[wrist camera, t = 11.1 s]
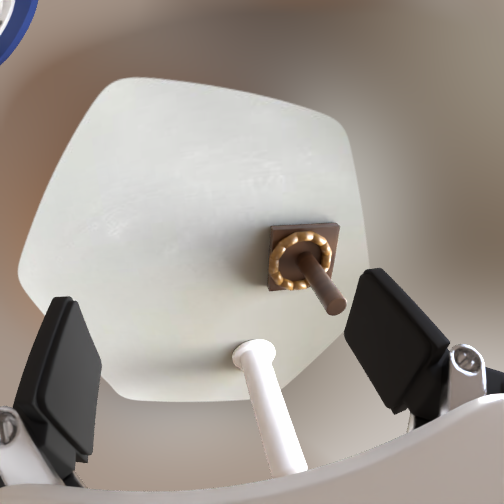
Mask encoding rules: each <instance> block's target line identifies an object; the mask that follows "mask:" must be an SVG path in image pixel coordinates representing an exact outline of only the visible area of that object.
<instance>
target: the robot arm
mask: <svg viewBox="0 0 504 504" xmlns="http://www.w3.org/2000/svg"><path fill="white" fill-rule="evenodd" d="M14 4H15V0H0V35H1V34H2V32H3V30H4V29H5V27H6V25H7V23H8V21H9V19H10V17H11V14H12V12H13V8H14ZM344 336H345V339H346V341H347V343H348V345H349V346H350V348H351V349H352V351H353V353H354V354H355V356H356V358H357V359H358V361H359V363H360V364H361V366H362V367H363V369H364V370H365V372H366V374H367V375H368V377H369V379H370V381H371V382H372V384H373V385H374V387H375V389H376V391H377V392H378V394H379V396H380V397H381V399H382V401H383V402H384V404H385V406H386V407H387V408H389V409H391V410H392V412H393V413H394V415H395V414H397V413H400V412H402V411H404V410H406V409H407V408H408V409H409V410H410V418H409V423H408V428H407V433H406V434H404V435H402V436H400V437H398V438H395V439H393V440H391V441H389V442H386V443H384V444H382V445H379V446H377V447H374V448H372V449H369V450H367V451H364V452H362V453H359V454H357V455H354V456H351V457H348V458H345V459H342V460H339V461H336V462H333V463H330V464H327V465H324V466H320V467H317V468H314V469H310V470H306V471H303V472H299V473H295V474H291V475H287V476H283V477H278V478H274V479H269V480H264V481H259V482H253V483H247V484H241V485H235V486H227V487H220V488H211V489H200V490H188V491H164V492H137V491H111V490H97V489H88V488H87V486H86V485H85V484H84V483H83V481H82V480H81V479H80V477H79V476H78V475H77V473H76V472H75V462H83V463H88V455H91V454H92V452H93V439H94V425H95V415H96V405H97V398H98V390H99V389H98V388H99V382H100V375H101V368H102V364H101V359H100V357H99V354H98V352H97V350H96V348H95V345H94V343H93V340H92V338H91V336H90V333H89V331H88V328H87V326H86V323H85V321H84V318H83V315H82V313H81V310H80V307H79V304H78V302H77V301H73V299H72V298H71V297H69V296H68V297H54V298H53V300H52V302H51V304H50V306H49V308H48V310H47V313H46V315H45V317H44V320H43V322H42V325H41V327H40V329H39V332H38V334H37V337H36V339H35V342H34V344H33V347H32V349H31V352H30V355H29V357H28V360H27V363H26V366H25V369H24V372H23V375H22V378H21V381H20V384H19V387H18V390H17V394H16V397H15V401H14V404H13V408H11V407H8V406H0V504H504V373H503V372H500V371H497V370H493V369H490V368H487V367H485V366H484V361H483V358H482V357H481V355H480V353H478V351H477V350H475V349H474V348H472V347H471V346H468V345H464V344H458V345H455V346H454V347H452V349H451V350H450V351H449V350H448V349H447V347H448V346H449V344H450V341H449V340H448V339H447V338H446V337H445V336H444V334H443V333H442V332H441V331H440V330H439V329H438V328H437V326H435V324H434V323H433V322H432V321H431V320H430V319H429V318H428V316H427V315H426V314H425V313H424V312H423V311H422V310H421V309H420V308H419V307H418V306H417V305H416V303H415V302H414V301H413V300H412V299H411V298H410V297H409V296H408V295H407V294H406V293H405V292H404V291H403V290H402V289H401V287H399V286H398V284H397V283H396V282H395V281H394V280H393V279H392V278H391V277H390V276H389V275H388V274H387V273H386V272H385V271H384V270H383V269H381V268H375V269H367V270H365V271H364V273H363V274H362V275H361V276H360V278H359V281H358V285H357V289H356V293H355V296H354V300H353V303H352V307H351V310H350V314H349V317H348V320H347V324H346V327H345V330H344Z"/></svg>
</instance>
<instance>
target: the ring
mask: <svg viewBox="0 0 504 504" xmlns="http://www.w3.org/2000/svg"><path fill="white" fill-rule="evenodd" d="M302 241H311V242H313V243H315V244H317V245H319V247H320V249H321V251H322V253H323V255H322V261H321V267H322V268H323V269H324V271H325V272H327V270H328V269H329V267H330V262H331V256H332V251H331V249H330V246H329V244H328V242H327V240H326V239H325V238H324V237H322V236H320V235H319V234H317V233H315V232H313V231H304V232H294V233H293V234H291V235H289V236H287V237H286V238H284V239H282V240H281V241H279V242H278V244H277V245H276V247H275V249H274V250H273V252H272V253H271V255H270V257H269V274H270V275H271V277H272V279H273V280H274V282H275V283H276V285H278V286H280V287H283V288H285V289H288V290H299V289H306V288H308V287H310V284H309V283H308V281H307V280H306V279H304V280H299V281H290V280H288V279H285V278H283V277H282V275H281V274H280V272H279V270H278V267H279V259H280V257H281V256H282V254H283V253H284V251H285V250H286V249H287V248H288V247H290V246H292V245H293V244H295V243H297V242H302Z"/></svg>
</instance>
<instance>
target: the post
mask: <svg viewBox="0 0 504 504" xmlns="http://www.w3.org/2000/svg"><path fill="white" fill-rule="evenodd" d="M304 231H313V232H315V233H317V234H319V235H320V236H322V237H324V238H325V239H326V240H327V242H328V244H329V246H330V249H331V251H332V256H331V262H330V267H329V269H328V270H327V272H325V271H324V269H323V268H322V267H321V261H322V255H323V253H322V251H321V249H320V247H319V245H317V244H315V243H313V242H311V241H302V242H297V243H295V244H293V245H292V246H290V247H288V248H287V249H286V250H285V251H284V253H283V254H282V256H281V257H280V259H279V267H278V270H279V272H280V274H281V275H282V277H283V278H285V279H288V280H290V281H299V280H304V279H306V280H307V281H308V283H309V284H310V287H311V288H312V289H313V291H314V292H315V294H316V296H317V297H318V299H319V300H320V302H321V304H322V305H323V307H324V309H325V310H326V312H327V313H328V314H329V315H332V316H334V315H338V314H340V313H341V312H343V311H344V309H345V308H346V306H347V301H346V299H345V298H344V296H343V295H342V294H341V292H340V291H339V290H338V288H337V287H336V285H335V284H334V283H333V281H332V280H331V276H332V271H333V266H334V260H335V255H336V249H337V243H338V237H339V231H340V226H339V225H338V224H337V223H321V224H300V225H280V226H271V234H270V250H269V257H270V255H271V253H272V252H273V250H274V249H275V247H276V245H277V244H278V242H279V241H281V240H282V239H284V238H286V237H287V236H289V235H291V234H293V233H294V232H304ZM267 287H268V289H269V291H277V290H286V289H285V288H283V287H280V286H278V285H276V283H275V282H274V280H273V279H272V277H271V275H270V274H269V266H268V282H267Z"/></svg>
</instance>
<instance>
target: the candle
mask: <svg viewBox="0 0 504 504" xmlns="http://www.w3.org/2000/svg"><path fill="white" fill-rule="evenodd" d="M274 357H275V349H274V346H273V345H272V344H271V343H270V342H268V341H265V340H250V341H247V342H245V343H243V344H241V345H239V346H238V347H237V348H236V349H235V350H234V352H233V355H232V360H233V363H234V365H235V366H236V367H238V368H239V369H242V370H243V371H244V375H245V379H246V383H247V387H248V391H249V395H250V399H251V402H252V406H253V410H254V414H255V418H256V421H257V425H258V429H259V432H260V436H261V440H262V443H263V447H264V450H265V454H266V458H267V461H268V465H269V468H270V472H271V475H272V478H273V479H274V478H278V477H283V476H287V475H291V474H295V473H299V472H303V471H306V470H307V464H306V462H305V459H304V456H303V454H302V451H301V448H300V445H299V442H298V439H297V437H296V434H295V431H294V428H293V425H292V422H291V420H290V417H289V414H288V411H287V408H286V405H285V402H284V399H283V397H282V394H281V391H280V388H279V385H278V382H277V379H276V376H275V373H274V370H273V367H272V365H271V361H272V360H273V359H274Z"/></svg>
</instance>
